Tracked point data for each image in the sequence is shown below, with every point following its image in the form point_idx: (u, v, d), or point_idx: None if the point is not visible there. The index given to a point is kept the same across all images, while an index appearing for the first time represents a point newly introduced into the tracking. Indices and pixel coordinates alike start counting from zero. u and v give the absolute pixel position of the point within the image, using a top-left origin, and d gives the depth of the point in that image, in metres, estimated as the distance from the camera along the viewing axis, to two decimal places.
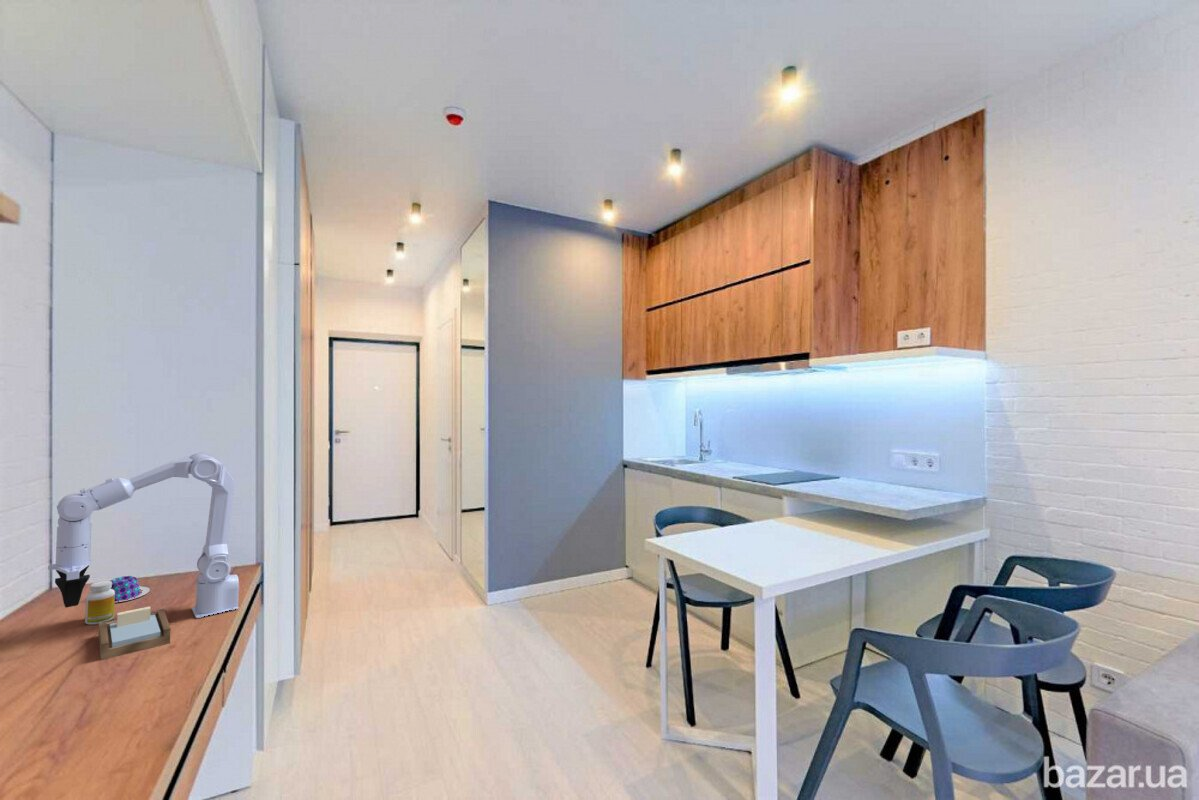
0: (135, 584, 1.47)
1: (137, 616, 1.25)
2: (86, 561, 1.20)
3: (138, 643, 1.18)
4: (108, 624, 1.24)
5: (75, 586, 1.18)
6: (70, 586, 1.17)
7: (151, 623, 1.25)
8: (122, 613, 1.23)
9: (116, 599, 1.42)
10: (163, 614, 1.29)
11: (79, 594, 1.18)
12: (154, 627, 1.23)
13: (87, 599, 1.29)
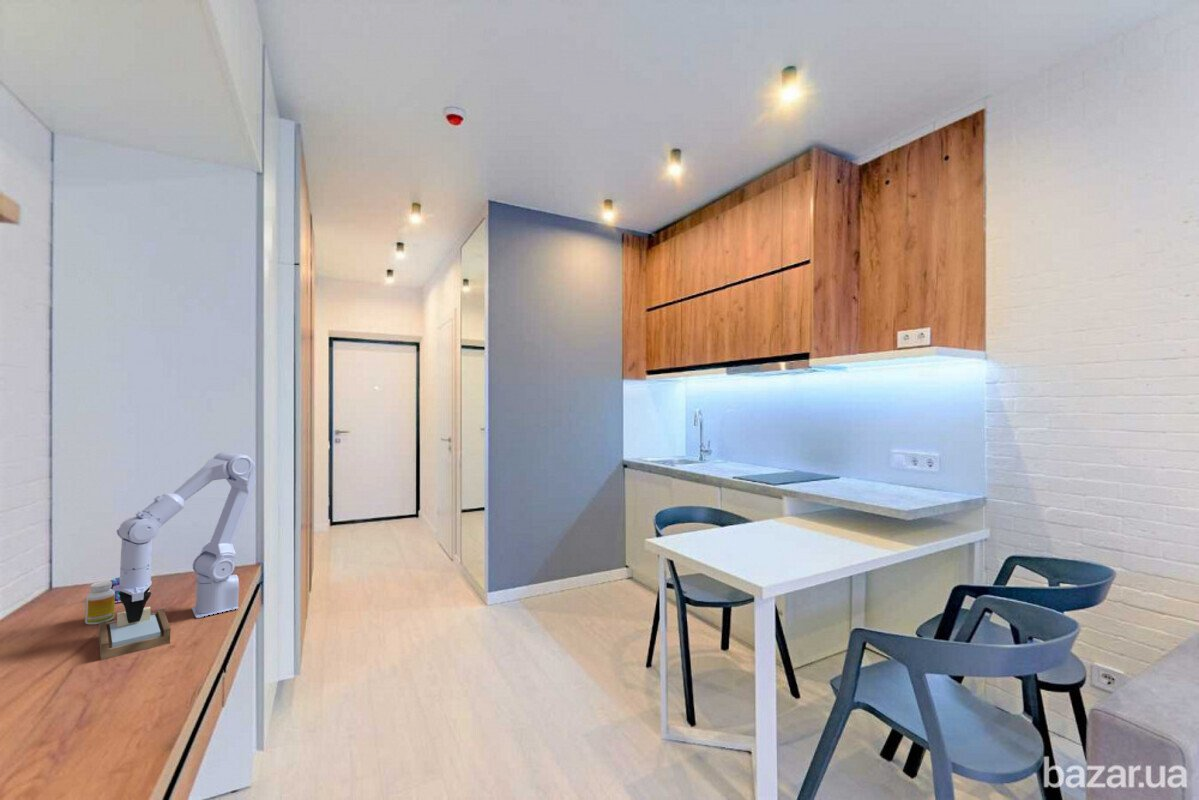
0: None
1: None
2: (148, 582, 1.25)
3: (138, 643, 1.18)
4: (108, 624, 1.24)
5: (137, 603, 1.24)
6: (133, 603, 1.24)
7: (151, 623, 1.25)
8: (122, 613, 1.23)
9: (116, 599, 1.43)
10: (163, 614, 1.29)
11: (141, 610, 1.25)
12: (154, 627, 1.23)
13: (87, 599, 1.29)
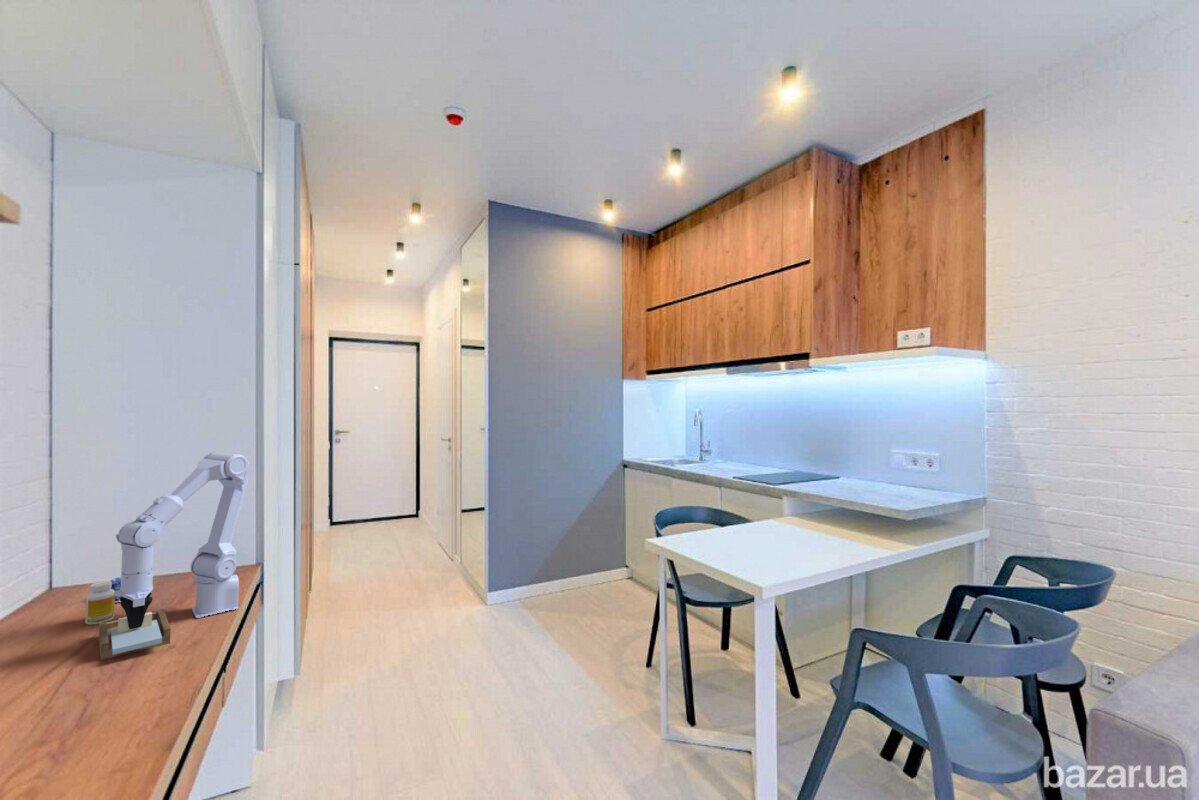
0: None
1: None
2: (149, 587, 1.22)
3: None
4: (108, 624, 1.24)
5: (139, 608, 1.21)
6: (134, 608, 1.21)
7: (153, 629, 1.22)
8: (123, 618, 1.21)
9: (117, 599, 1.43)
10: (163, 614, 1.29)
11: (142, 616, 1.22)
12: (156, 633, 1.20)
13: (87, 599, 1.29)
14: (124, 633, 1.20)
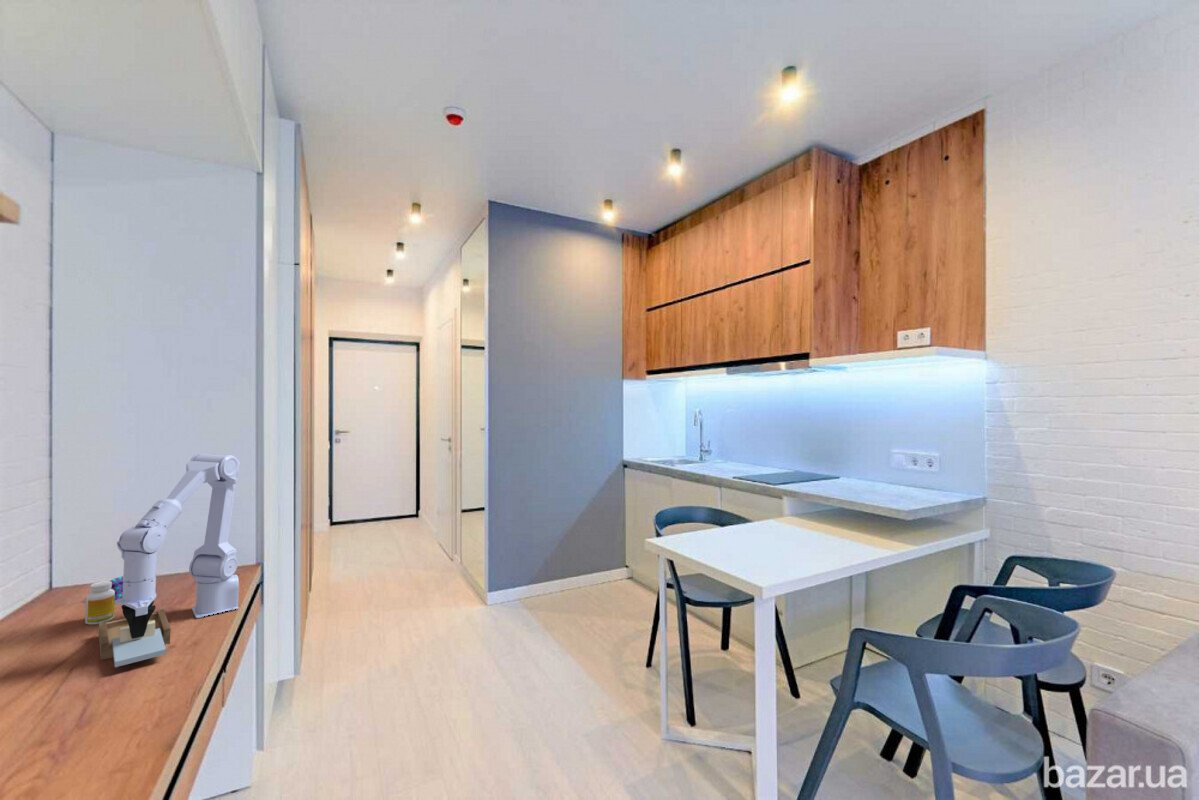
0: None
1: None
2: (152, 595, 1.18)
3: None
4: (108, 624, 1.24)
5: (141, 617, 1.17)
6: (137, 617, 1.17)
7: (156, 639, 1.18)
8: (125, 628, 1.16)
9: None
10: (163, 614, 1.29)
11: (145, 625, 1.18)
12: (159, 644, 1.16)
13: (87, 599, 1.29)
14: (126, 643, 1.16)
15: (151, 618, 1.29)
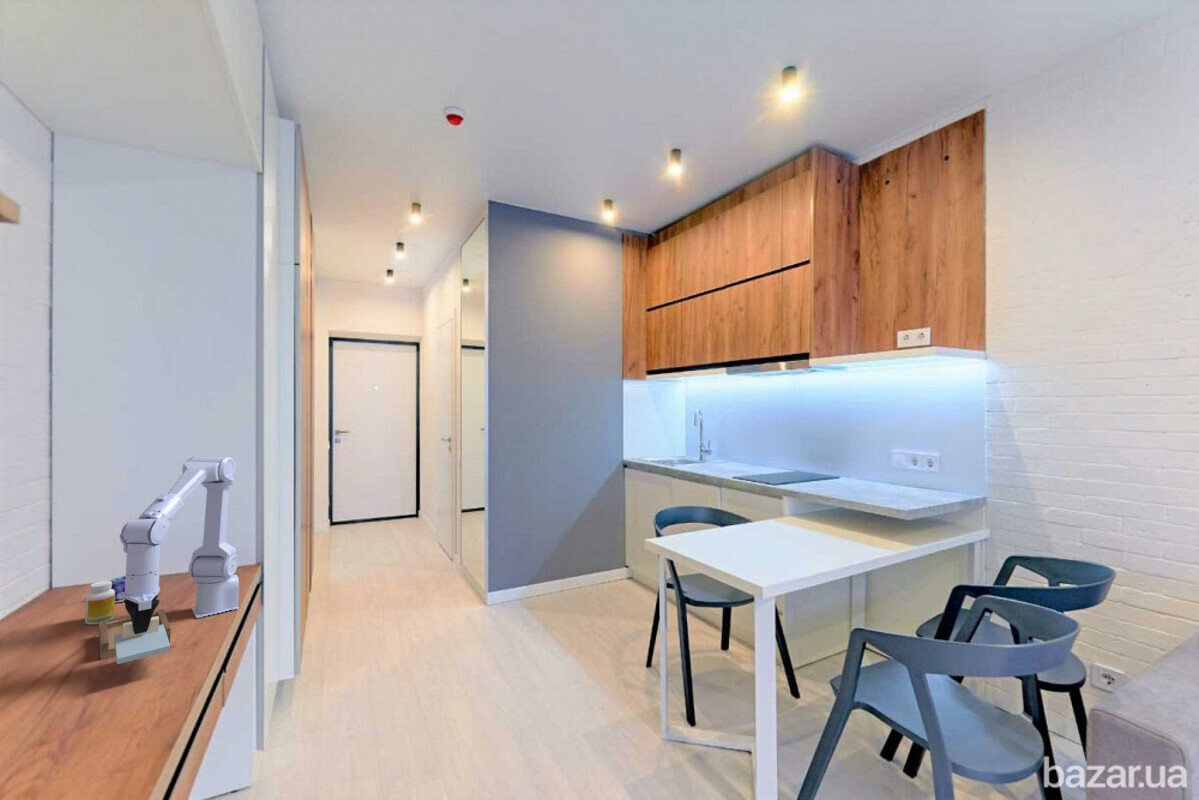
0: None
1: None
2: (156, 589, 1.14)
3: None
4: (108, 624, 1.24)
5: (144, 612, 1.13)
6: (140, 612, 1.12)
7: (160, 635, 1.14)
8: (128, 623, 1.12)
9: (118, 599, 1.43)
10: (163, 614, 1.29)
11: (148, 620, 1.13)
12: (163, 640, 1.12)
13: (87, 599, 1.29)
14: (129, 639, 1.11)
15: None
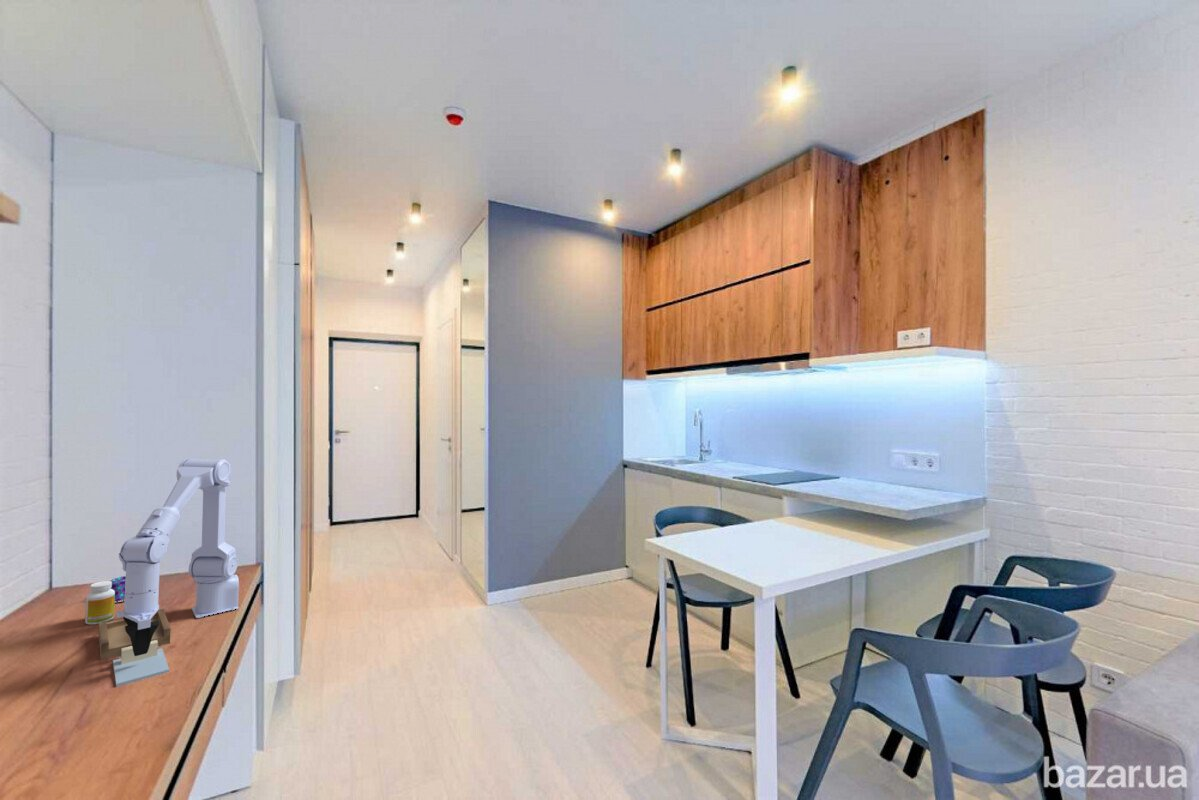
0: None
1: None
2: (155, 607, 1.14)
3: None
4: (108, 624, 1.24)
5: (145, 633, 1.12)
6: (140, 633, 1.11)
7: (159, 659, 1.14)
8: (127, 648, 1.13)
9: (119, 599, 1.43)
10: (163, 614, 1.29)
11: (148, 641, 1.12)
12: (162, 664, 1.12)
13: (87, 599, 1.29)
14: (128, 664, 1.12)
15: None
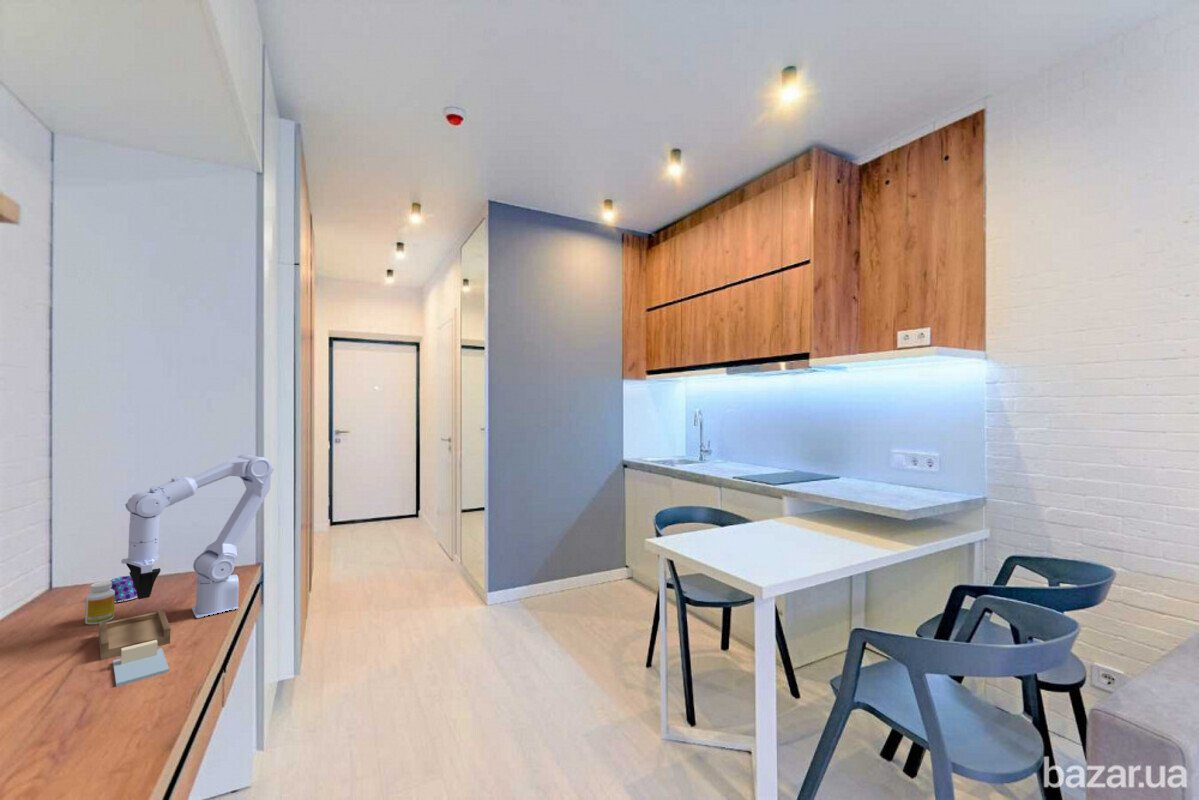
0: None
1: (143, 651, 1.14)
2: (156, 555, 1.27)
3: (138, 643, 1.18)
4: (108, 624, 1.24)
5: (147, 579, 1.24)
6: (143, 579, 1.23)
7: (158, 658, 1.14)
8: (127, 648, 1.13)
9: (120, 598, 1.43)
10: (163, 614, 1.29)
11: (151, 587, 1.24)
12: (162, 664, 1.12)
13: (87, 599, 1.29)
14: (128, 664, 1.12)
15: (151, 618, 1.29)
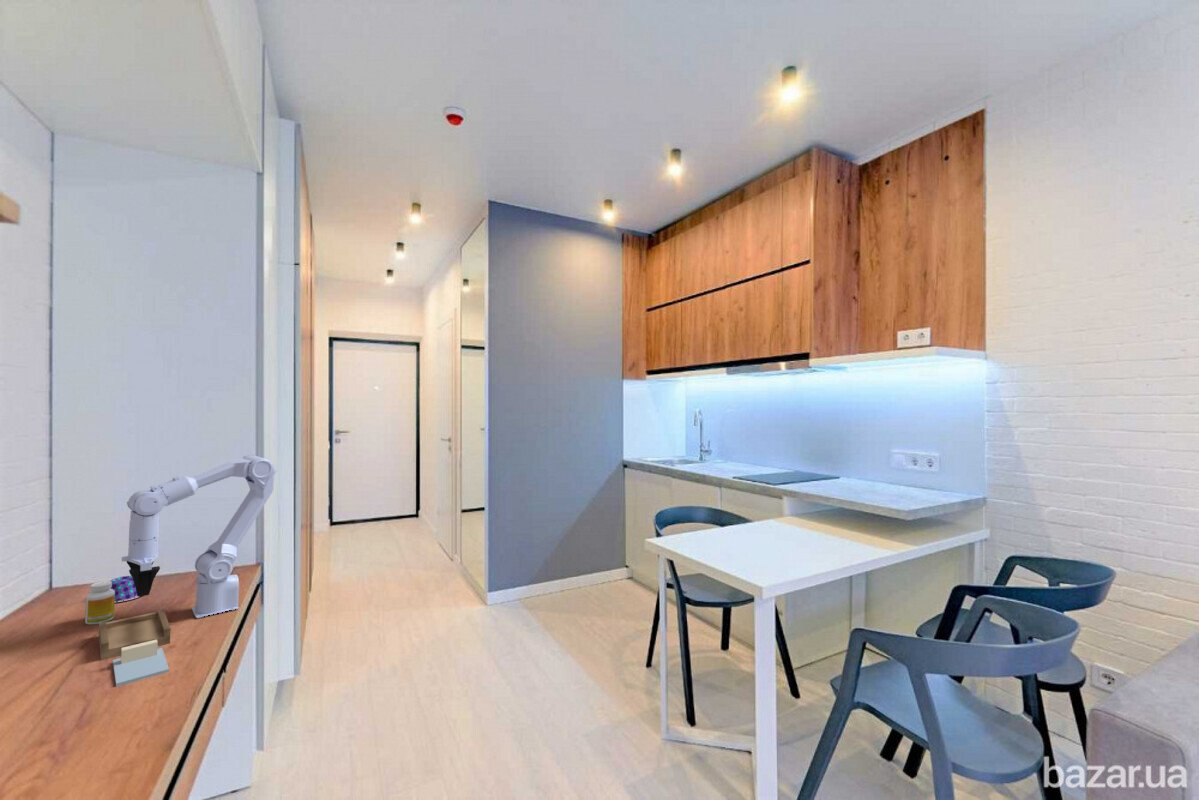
0: None
1: (143, 651, 1.14)
2: (155, 553, 1.28)
3: (138, 643, 1.18)
4: (108, 624, 1.24)
5: (146, 577, 1.25)
6: (142, 577, 1.25)
7: (158, 658, 1.15)
8: (127, 648, 1.13)
9: (120, 598, 1.43)
10: (163, 614, 1.29)
11: (150, 584, 1.26)
12: (162, 664, 1.13)
13: (87, 599, 1.29)
14: (128, 664, 1.12)
15: (151, 618, 1.29)
